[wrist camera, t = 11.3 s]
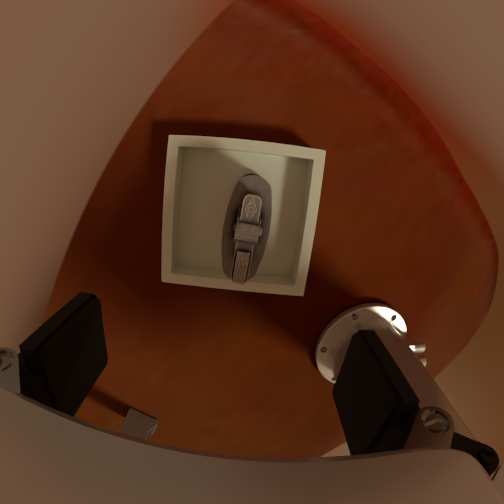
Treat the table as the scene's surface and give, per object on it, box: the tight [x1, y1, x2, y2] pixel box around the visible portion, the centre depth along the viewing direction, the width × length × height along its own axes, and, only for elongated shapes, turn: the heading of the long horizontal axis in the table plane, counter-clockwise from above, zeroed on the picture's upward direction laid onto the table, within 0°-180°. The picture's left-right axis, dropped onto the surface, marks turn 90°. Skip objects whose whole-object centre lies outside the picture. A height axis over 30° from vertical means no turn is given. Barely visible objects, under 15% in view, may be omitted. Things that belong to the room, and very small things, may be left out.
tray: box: [161, 135, 326, 296], centre depth 27 cm, size 14×14×4 cm
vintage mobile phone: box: [119, 408, 158, 440], centre depth 26 cm, size 4×5×25 cm
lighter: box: [221, 173, 272, 284], centre depth 23 cm, size 8×3×10 cm, turn 170°
